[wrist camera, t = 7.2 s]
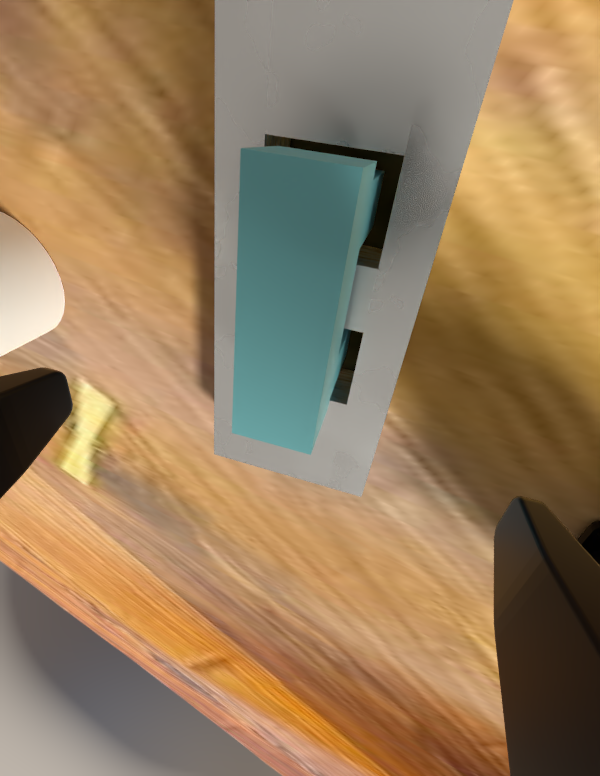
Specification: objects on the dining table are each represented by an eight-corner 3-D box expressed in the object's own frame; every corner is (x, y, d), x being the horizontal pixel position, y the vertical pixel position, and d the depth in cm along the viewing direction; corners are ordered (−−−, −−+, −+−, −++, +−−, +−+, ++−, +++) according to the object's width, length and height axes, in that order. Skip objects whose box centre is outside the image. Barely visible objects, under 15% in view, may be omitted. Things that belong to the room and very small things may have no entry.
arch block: (344, 363, 20) (310, 455, 14) (287, 349, 20) (231, 432, 15) (388, 155, 15) (363, 167, 9) (310, 143, 15) (240, 148, 10)
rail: (368, 457, 23) (361, 496, 20) (236, 421, 24) (214, 453, 21) (519, -50, 11) (544, -100, 9) (256, -69, 13) (214, -118, 10)
